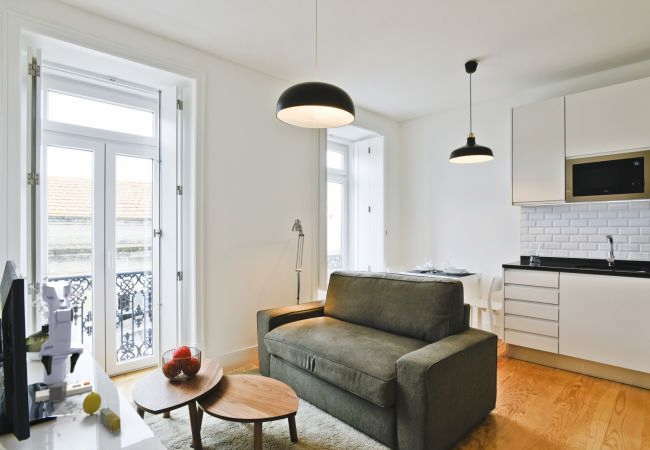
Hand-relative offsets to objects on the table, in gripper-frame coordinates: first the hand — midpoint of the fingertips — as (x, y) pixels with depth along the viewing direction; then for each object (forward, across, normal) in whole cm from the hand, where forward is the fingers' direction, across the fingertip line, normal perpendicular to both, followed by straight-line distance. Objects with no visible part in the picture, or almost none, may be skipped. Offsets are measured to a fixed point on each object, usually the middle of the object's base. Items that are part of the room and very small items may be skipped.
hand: (60, 373), depth 142 cm
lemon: (+9, +16, -21) cm, 28 cm away
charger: (+9, +1, -6) cm, 11 cm away
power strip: (+10, +1, +2) cm, 10 cm away
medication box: (+9, +24, -31) cm, 40 cm away
